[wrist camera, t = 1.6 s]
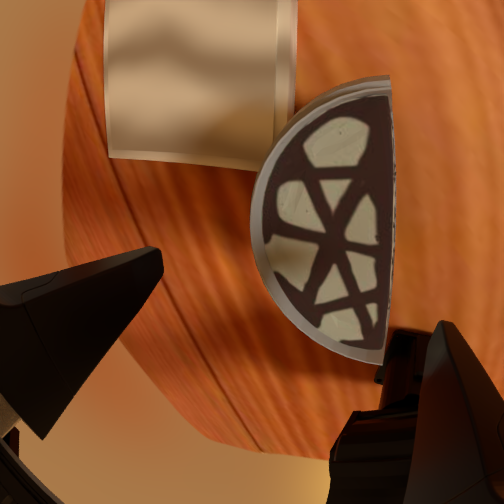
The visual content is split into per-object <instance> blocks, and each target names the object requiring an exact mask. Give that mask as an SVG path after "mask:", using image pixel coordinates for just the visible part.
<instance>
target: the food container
mask: <svg viewBox="0 0 504 504" xmlns="http://www.w3.org/2000/svg"><path fill="white" fill-rule="evenodd" d="M395 230H396V163H395V141H394V126H393V113H392V92H391V83H390V77H389V75H382V76H373V77H365V78H361V79H357V80H354V81H350V82H347V83H344V84H341V85H339V86H336V87H334V88H332V89H330V90H328V91H326V92H324V93H322V94H320V95H319V96H317V97H316V98H315V99H313V100H312V101H311V102H309V103H308V104H307V105H305V106H304V107H303V108H301V109H300V110H299V111H298V112H297V113H296V114H295V115H294V116H293V117H292V118H291V120H290V121H289V122H288V123H287V124H286V125H285V126H284V127H283V129H282V130H281V131H280V133H279V134H278V136H277V137H276V139H275V140H274V142H273V143H272V145H271V146H270V148H269V150H268V151H267V153H266V154H265V157H264V159H263V161H262V164H261V166H260V168H259V171H258V173H257V175H256V180H255V184H254V188H253V192H252V196H251V209H250V233H251V245H252V249H253V254H254V258H255V262H256V266H257V268H258V271H259V273H260V276H261V278H262V280H263V283H264V285H265V287H266V288H267V290H268V292H269V294H270V295H271V297H272V299H273V300H274V302H275V303H276V304H277V306H278V307H279V308H280V309H281V311H282V312H283V313H284V315H285V316H286V317H287V318H288V319H289V320H290V321H291V322H292V323H293V324H294V325H295V326H296V327H297V328H298V329H299V330H301V331H302V332H303V333H305V334H306V335H307V336H309V337H310V338H311V339H312V340H314V341H315V342H317V343H319V344H321V345H322V346H324V347H326V348H327V349H329V350H331V351H333V352H336V353H338V354H340V355H343V356H345V357H347V358H351V359H354V360H358V361H361V362H365V363H370V364H376V365H383V359H384V353H385V346H386V339H387V331H388V323H389V315H390V305H391V295H392V284H393V270H394V253H395Z"/></svg>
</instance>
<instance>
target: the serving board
mask: <svg viewBox="0 0 504 504" xmlns="http://www.w3.org/2000/svg"><path fill="white" fill-rule="evenodd" d="M297 7H298V0H106V2H105V19H104V97H105V115H106V130H107V142H108V152H109V158H123V159H139V160H153V161H165V162H177V163H188V164H198V165H207V166H216V167H224V168H233V169H241V170H248V171H256V172H258V171H259V168H260V166H261V164H262V161H263V159H264V157H265V154H266V153H267V151H268V150H269V148H270V146H271V145H272V143H273V142H274V140H275V139H276V137H277V136H278V134H279V133H280V131H281V130H282V129H283V127H284V126H285V125H286V124H287V123H288V122H289V121H290V120H291V118H292V117H293V116H294V104H295V80H296V51H297Z"/></svg>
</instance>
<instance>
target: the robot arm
mask: <svg viewBox="0 0 504 504" xmlns="http://www.w3.org/2000/svg"><path fill="white" fill-rule="evenodd" d="M163 273H164V266H163V259H162V253H161V250H160V249H159V248H155V247H152V246H148V247H144V248H140V249H137V250H133V251H129V252H125V253H122V254H118V255H114V256H111V257H107V258H103V259H100V260H96V261H92V262H89V263H85V264H81V265H78V266H74V267H71V268H67V269H64V270H61V271H60V272H59V271H57V272H53V273H50V274H46V275H42V276H39V277H35V278H31V279H27V280H23V281H18V282H14V283H10V284H6V285H2V286H0V504H64V503H63V502H62V501H61V500H60V499H59V498H58V497H57V496H55V495H54V494H53V493H52V492H51V491H50V490H49V489H48V488H47V487H46V486H45V485H44V484H43V483H42V482H41V481H40V480H39V479H38V478H37V477H36V476H35V475H34V474H33V473H32V472H31V471H30V470H29V469H28V468H27V467H26V466H25V465H24V464H23V462H22V461H21V460H20V459H19V430H18V429H17V428H16V427H15V425H16V424H17V423H18V422H19V421H20V420H21V419H22V420H23V422H24V423H25V424H26V425H27V426H28V427H29V428H30V429H31V430H32V431H33V432H34V433H35V434H36V435H37V436H38V437H39V438H40V439H41V440H43V439H44V438H45V437H46V436H47V434H48V433H49V431H50V430H51V429H52V427H53V426H54V424H55V423H56V421H57V420H58V418H59V417H60V416H61V414H62V413H63V412H64V410H65V409H66V407H67V406H68V404H69V403H70V402H71V400H72V399H73V397H74V396H75V395H76V393H77V392H78V390H79V389H80V388H81V386H82V385H83V384H84V382H85V381H86V380H87V378H88V377H89V375H90V374H91V373H92V372H93V370H94V369H95V367H96V366H97V365H98V363H99V362H100V361H101V359H102V358H103V357H104V356H105V354H106V353H107V352H108V350H109V349H110V348H111V346H112V345H113V344H114V342H115V341H116V340H117V339H118V337H119V336H120V335H121V334H122V332H123V331H124V330H125V328H126V327H127V326H128V325H129V323H130V322H131V321H132V320H133V318H134V317H135V316H136V314H137V313H138V312H139V311H140V309H141V308H142V306H143V305H144V303H145V302H146V300H147V299H148V297H149V296H150V294H151V293H152V291H153V290H154V288H155V287H156V285H157V284H158V282H159V281H160V279H161V277H162V276H163ZM397 336H401V337H397ZM374 382H375V383H377V384H381V385H383V387H382V393H381V398H380V403H379V409H378V410H372V411H362V412H361V411H353V413H352V414H351V416H350V418H349V420H348V421H347V423H346V425H345V427H344V428H343V430H342V432H341V433H340V435H339V437H338V438H337V440H336V442H335V443H334V445H333V447H332V449H331V451H330V459H329V473H330V478H331V481H330V489H329V494H328V498H327V502H326V504H504V401H503V399H502V397H501V395H500V394H499V392H498V390H497V389H496V387H495V385H494V384H493V382H492V380H491V379H490V377H489V376H488V374H487V372H486V371H485V369H484V368H483V366H482V365H481V363H480V361H479V360H478V358H477V357H476V355H475V354H474V352H473V351H472V349H471V348H470V346H469V345H468V343H467V342H466V340H465V339H464V338H463V336H462V335H461V333H460V332H459V330H458V329H457V328H456V326H455V325H454V324H453V323H452V322H449V321H444V320H441V321H439V322H438V324H437V326H436V328H435V330H434V332H433V334H432V337H428V336H424V335H419V334H415V333H411V332H406V331H402V330H397V331H395V332H394V333H393V335H392V338H391V340H390V342H389V345H388V347H387V350H386V352H385V354H384V359H383V365H380V366H379V368H378V370H377V373H376V375H375V378H374Z"/></svg>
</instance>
